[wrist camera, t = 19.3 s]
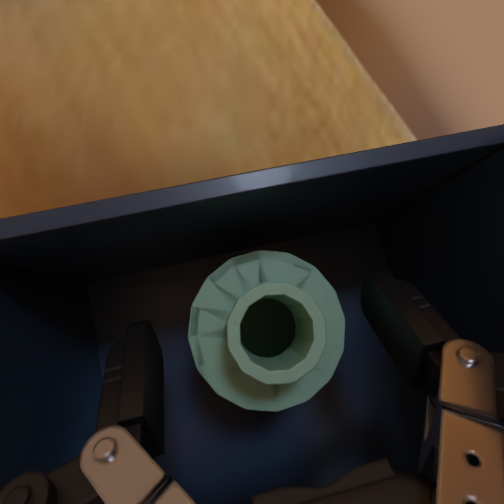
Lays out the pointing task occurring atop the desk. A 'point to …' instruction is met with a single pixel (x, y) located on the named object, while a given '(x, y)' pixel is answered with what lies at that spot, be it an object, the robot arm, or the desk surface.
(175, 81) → the desk surface
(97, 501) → the robot arm
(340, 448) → the package
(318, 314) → the bottle
